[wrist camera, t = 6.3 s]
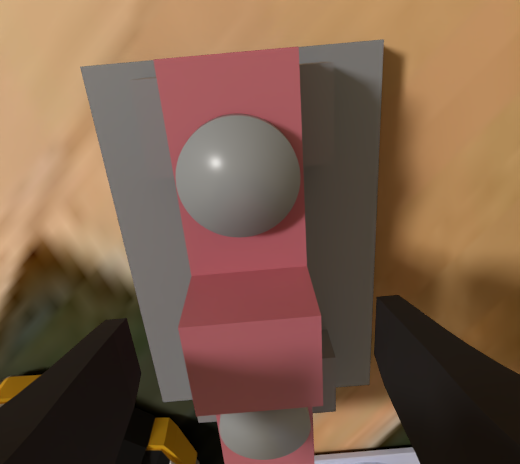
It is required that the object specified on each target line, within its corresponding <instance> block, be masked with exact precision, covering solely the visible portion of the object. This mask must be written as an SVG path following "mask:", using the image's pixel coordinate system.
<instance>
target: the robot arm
mask: <svg viewBox="0 0 520 464" xmlns="http://www.w3.org/2000/svg"><path fill="white" fill-rule="evenodd" d="M374 354H375V358H376V361H377V364H378V368H379V371H380V374H381V377H382V380H383V383H384V386H385V388H386V390H387V393H388V395H389V397H390V399H391V401H392V404H393V406H394V408H395V410H396V412H397V415H398V417H399V419H400V421H401V423H402V425H403V427H404V430H405V432H406V434H407V436H408V438H409V440H410V442H411V445H412V447H408V448H396V449H384V450H372V451H360V452H348V453H336V454H324V455H314V464H520V375H519V374H518V373H516V372H514V371H512V370H510V369H508V368H506V367H505V366H503V365H501V364H499V363H498V362H496V361H494V360H493V359H491V358H489V357H488V356H486V355H484V354H483V353H481V352H480V351H478V350H476V349H475V348H473V347H472V346H470V345H468V344H467V343H465V342H464V341H462V340H461V339H459V338H458V337H456V336H455V335H453V334H452V333H450V332H449V331H448V330H446V329H445V328H443V327H442V326H440V325H439V324H438V323H436V322H435V321H433V320H432V319H431V318H429V317H428V316H427V315H425V314H424V313H422V312H421V311H420V310H418V309H417V308H416V307H414V306H413V305H412V304H410V303H409V302H407V301H406V300H405V299H403V298H402V297H400V296H399V295H393V296H382V297H377V303H376V325H375V347H374ZM140 377H141V371H140V367H139V363H138V359H137V356H136V352H135V348H134V344H133V341H132V337H131V333H130V329H129V326H128V322H127V318H124V319H112V320H105V321H104V322H102V323H101V324H100V325H99V326H97V327H96V328H95V329H94V330H93V331H92V332H90V333H89V334H88V335H87V336H86V337H85V338H84V339H82V340H81V341H80V342H79V343H78V344H77V345H76V346H75V347H73V348H72V349H71V350H70V351H69V352H68V353H67V354H65V355H64V356H63V357H62V358H61V359H60V360H58V361H57V362H56V363H55V364H54V365H53V366H52V367H50V368H49V369H48V370H47V371H45V372H44V373H43V374H42V375H41V376H39V377H38V378H37V379H36V380H34V381H33V382H32V383H31V384H29V385H28V386H27V387H26V388H24V389H23V390H22V391H21V392H19V393H18V394H17V395H16V396H14V397H13V398H12V399H10V400H9V401H8V402H6V403H5V404H4V405H2V406H1V407H0V464H115V461H116V459H117V456H118V453H119V450H120V447H121V444H122V441H123V439H124V436H125V433H126V430H127V427H128V424H129V421H130V418H131V415H132V412H133V409H134V406H135V401H136V397H137V392H138V387H139V382H140Z"/></svg>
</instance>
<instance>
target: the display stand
mask: <svg viewBox="0 0 520 464" xmlns="http://www.w3.org/2000/svg"><path fill="white" fill-rule="evenodd" d="M383 47H384V40H373V41H362V42H351V43H339V44H328V45H317V46H306V47H299V69H300V95H301V122H302V148H303V175H304V201H305V228H306V254H307V268H308V271H309V275H310V278H311V282H312V285H313V289H314V292H315V296H316V299H317V303H318V306H319V310H320V313H321V328H322V373H323V406H316V407H312V413H322V412H334V411H336V387H348V386H359V385H369V384H370V360H371V336H372V312H373V288H374V263H375V239H376V215H377V191H378V167H379V143H380V119H381V95H382V71H383ZM80 68H81V72H82V76H83V80H84V84H85V88H86V92H87V96H88V100H89V104H90V108H91V113H92V117H93V121H94V125H95V129H96V133H97V137H98V141H99V145H100V149H101V153H102V157H103V161H104V165H105V169H106V173H107V177H108V181H109V185H110V189H111V193H112V197H113V201H114V205H115V209H116V213H117V217H118V221H119V226H120V230H121V234H122V238H123V242H124V246H125V250H126V254H127V258H128V262H129V266H130V270H131V274H132V278H133V282H134V286H135V290H136V294H137V298H138V302H139V306H140V310H141V314H142V318H143V322H144V326H145V330H146V335H147V339H148V343H149V347H150V351H151V355H152V359H153V363H154V367H155V371H156V375H157V379H158V383H159V387H160V391H161V395H162V399H163V402H170V401H182V400H193V399H192V394H191V389H190V384H189V379H188V374H187V369H186V364H185V360H184V355H183V350H182V345H181V340H180V335H179V330H178V326H179V322H180V318H181V314H182V311H183V307H184V303H185V299H186V295H187V291H188V287H189V283H190V280H191V271H190V265H189V259H188V254H187V248H186V242H185V237H184V231H183V225H182V220H181V214H180V208H179V203H178V197H177V191H176V186H175V180H174V174H173V169H172V163H171V157H170V152H169V146H168V140H167V135H166V129H165V123H164V118H163V112H162V106H161V101H160V95H159V89H158V84H157V78H156V72H155V67H154V61H153V60H151V61H140V62H129V63H117V64H106V65H95V66H84V67H80ZM197 417H198V422H199V423H202V422H214V421H217V418H216V415H208V416H197Z"/></svg>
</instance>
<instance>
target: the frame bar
mask: <svg viewBox="0 0 520 464" xmlns="http://www.w3.org/2000/svg"><path fill="white" fill-rule="evenodd" d="M153 61H154V67H155V72H156V78H157V84H158V89H159V95H160V101H161V106H162V112H163V118H164V123H165V129H166V135H167V140H168V146H169V152H170V157H171V163H172V169H173V174H174V180H175V186H176V191H177V197H178V203H179V208H180V214H181V220H182V225H183V231H184V237H185V242H186V248H187V254H188V259H189V265H190V271H191V280H190V283H189V287H188V291H187V295H186V299H185V303H184V307H183V311H182V314H181V318H180V322H179V326H178V330H179V335H180V340H181V345H182V350H183V355H184V360H185V364H186V369H187V374H188V379H189V384H190V389H191V394H192V399H193V403H194V408H195V413H196V417H197V416H208V415H216V418H217V424H218V429H219V435H220V441H221V446H222V452H223V458H224V463H225V464H314V439H313V413H312V407H316V406H323V373H322V328H321V313H320V310H319V306H318V303H317V299H316V296H315V292H314V289H313V285H312V282H311V278H310V275H309V271H308V268H307V254H306V228H305V201H304V175H303V148H302V122H301V95H300V69H299V47H289V48H278V49H267V50H255V51H244V52H233V53H222V54H211V55H200V56H189V57H178V58H166V59H155V60H153Z"/></svg>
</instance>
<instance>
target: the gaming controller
mask: <svg viewBox="0 0 520 464" xmlns="http://www.w3.org/2000/svg"><path fill="white" fill-rule="evenodd" d="M39 376H41V375H31V376H17V375H11V376H8V377H6V378H4V379H3V380H1V381H0V407H1V406H2V405H4V404H5V403H6V402H8V401H9V400H10V399H12V398H13V397H14V396H16V395H17V394H18V393H19V392H21V391H22V390H23V389H24V388H26V387H27V386H28V385H29V384H31V383H32V382H33V381H34V380H36V379H37V378H38V377H39ZM196 458H197V452H196V451H195V449H194V448H193V446H192V445H191V444H190V442H189V441H188V440H187V438H186V437H185V435H184V434H183V433H182V431H181V430H180V428H179V427H178V426H177V425H176V424H175V423H174V422H173V421H172V420H171V419H170V418H155V416H154V415H152V414H149V413H147V412H144V411H142V410H140V409H137V408H135V407H134V409H133V412H132V415H131V418H130V421H129V424H128V427H127V430H126V433H125V436H124V439H123V441H122V444H121V447H120V450H119V453H118V456H117V459H116V461H115V464H199V461H198V460H197V459H196Z"/></svg>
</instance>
